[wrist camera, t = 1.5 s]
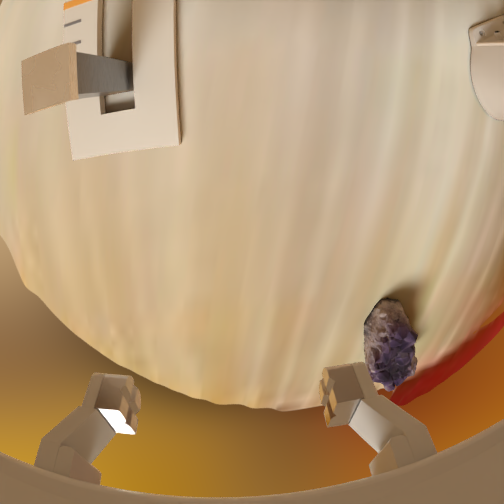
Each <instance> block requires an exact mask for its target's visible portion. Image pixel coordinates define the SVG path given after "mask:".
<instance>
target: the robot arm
mask: <svg viewBox="0 0 504 504" xmlns="http://www.w3.org/2000/svg"><path fill="white" fill-rule="evenodd" d="M469 37H470V42H471V46H472V53H471V76H472V82H473V86H474V89H475V92H476V95H477V97H478V99H479V101H480V103H481V105H482V107H483V108H484V109H485V111H486V112H487V113H488V114H489V115H490V116H491V117H493V118H495V119H497V120H504V15H501V16H499V17H496V18H494V19H491V20H489V21H486V22H484V23H481V24H479V25H476V26H474V27H472V28H470V29H469ZM322 375H323V379H322V380H320V384H319V395H320V400H321V404H323V405H324V406H325V407H326V408H325V411H324V416H325V420H326V424H327V427H333V426H339V425H345V424H349V426H350V427H351V428H352V429H353V430H355V431H356V432H357V433H358V434H359V435H360V436H361V437H362V438H363V439H364V440H365V441H366V442H367V443H368V444H369V445H370V446H371V447H373V448H374V449H375V450H376V451H377V452H378V455H377V456H376V457H375V458H374V459H373V460H372V462H371V463H370V465H369V467H370V470H371V474H372V476H371V477H367V478H364V479H360V480H356V481H352V482H348V483H343V484H339V485H334V486H329V487H325V488H319V489H313V490H307V491H301V492H294V493H286V494H277V495H267V496H254V497H231V498H205V497H203V498H202V497H182V496H168V495H158V494H149V493H142V492H135V491H128V490H122V489H117V488H112V487H107V486H102V485H100V480H101V473H100V471H98V470H97V469H96V468H95V467H94V466H93V465H91V463H92V462H93V461H94V460H95V458H96V457H97V456H98V455H99V454H100V452H101V451H102V450H103V449H104V448H105V446H106V445H107V444H108V443H109V442H110V440H111V439H112V438H113V437H114V435H115V434H116V433H126V434H136V430H137V424H138V419H137V417H136V414H137V413H138V412H139V410H140V406H141V396H140V392H139V390H138V388H137V387H135V386H134V385H133V384H134V380H133V378H132V376H125V375H114V374H105V373H94V374H93V375H92V376H91V379H90V382H89V385H88V388H87V392H86V395H85V398H84V401H83V404H82V406H78V407H77V408H76V409H75V410H74V411H73V412H71V413H70V414H69V415H68V416H67V417H66V418H65V419H63V420H62V421H61V422H60V423H59V424H58V425H57V426H56V427H54V428H53V429H52V430H51V431H50V432H49V433H48V434H46V435H45V436H44V437H43V438H42V440H41V443H40V446H39V450H38V453H37V457H36V460H35V464H34V466H33V465H30V464H28V463H25V462H22V461H20V460H17V459H15V458H13V457H10V456H8V455H6V454H3V453H1V452H0V504H504V419H503V420H501V421H500V422H498V423H496V424H495V425H493V426H491V427H489V428H488V429H486V430H484V431H482V432H480V433H478V434H477V435H475V436H473V437H471V438H469V439H467V440H465V441H463V442H461V443H459V444H457V445H455V446H452V447H450V448H448V449H446V450H444V451H441V452H439V453H437V451H436V449H435V446H434V444H433V442H432V440H431V437H430V434H429V432H428V430H427V427H426V426H425V425H424V424H423V423H421V422H419V421H418V420H417V419H415V418H414V417H412V416H411V415H409V414H408V413H407V412H405V411H403V410H402V409H401V408H400V407H398V406H397V405H395V404H394V403H393V402H391V401H390V400H388V399H387V398H386V397H384V396H383V395H379V396H378V393H377V391H376V388H375V386H374V384H373V381H372V379H371V376H370V374H369V372H368V369H367V367H366V365H365V363H364V362H358V363H353V364H344V365H338V366H332V367H326V368H324V369H323V372H322ZM115 432H116V433H115Z"/></svg>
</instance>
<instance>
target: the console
mask: <svg viewBox="0 0 504 504" xmlns="http://www.w3.org/2000/svg"><path fill="white" fill-rule="evenodd" d="M102 13H103V0H65V3H64V22H63V44H65V43H68V42H70V43H75V44H76V52H81V53H87V54H92V55H98V56H102ZM132 62H133V84H134V99H135V108H134V109H128V110H122V111H117V112H111V113H106V109H105V97H104V96H99V97H90V98H82V99H78V100H74V101H70V102H67V103H66V113H67V122H68V131H69V138H70V145H71V152H72V158H73V161H74V160H79V159H85V158H90V157H96V156H102V155H108V154H114V153H121V152H128V151H135V150H143V149H151V148H160V147H170V146H179V145H180V144H181V133H180V118H179V102H178V82H177V54H176V0H132Z"/></svg>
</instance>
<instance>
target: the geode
mask: <svg viewBox="0 0 504 504" xmlns="http://www.w3.org/2000/svg"><path fill="white" fill-rule="evenodd" d="M364 336H365V342H364V348H365V350H364V352H365V365H366V367H367V369H368V372H369V374H370V376H371V379H372V381H373V382H380V383H382V384H383V385H384V388H385V390H387V391H391V390H394V388H395V385H396V386H398V385H400V384H401V383H402V382H403V381H404V380H405V379H406V378H407V377H408V376H413V375H414V374H415V370H416V365H417V358H416V357H415V346H414V343H416V339H417V336H418V334H416V333H415V331H414V330H413V329H412V327H411V326H410V323H409V319H408V317H407V316H406V315H405V313H404V310H403V307H402V305H401V303H400V302H399V301H398V300H393V299H389V298H386V299H381V300H380V301H379V302H378V303H377V304H376V305H375V306H374V308H373V310H372V311H371V313H370V314H369V316H368V317H367V318H366V320H365V323H364Z"/></svg>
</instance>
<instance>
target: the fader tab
mask: <svg viewBox="0 0 504 504" xmlns="http://www.w3.org/2000/svg"><path fill="white" fill-rule="evenodd" d="M22 88H23V102H24V113H25V115H27V114H31V113H35V112H38V111H41V110H44V109H47V108H50V107H53V106H57V105H60V104H63V103H67V102H70V101H74V100H78V99H82V98H90V97H99V96H107V95H112V94H117V93H122V92H128V91H133V90H134V89H133V70H132V63H130V62H126V61H122V60H117V59H113V58H108V57H103V56H98V55H92V54H87V53H81V52H76V44H75V43H70V42H68V43H65V44H63V45H60V46H57V47H54V48H52V49H49V50H47V51H44V52H42V53H39V54H37V55H34V56H32V57H30V58H28V59H25V60H23V61H22Z"/></svg>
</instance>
